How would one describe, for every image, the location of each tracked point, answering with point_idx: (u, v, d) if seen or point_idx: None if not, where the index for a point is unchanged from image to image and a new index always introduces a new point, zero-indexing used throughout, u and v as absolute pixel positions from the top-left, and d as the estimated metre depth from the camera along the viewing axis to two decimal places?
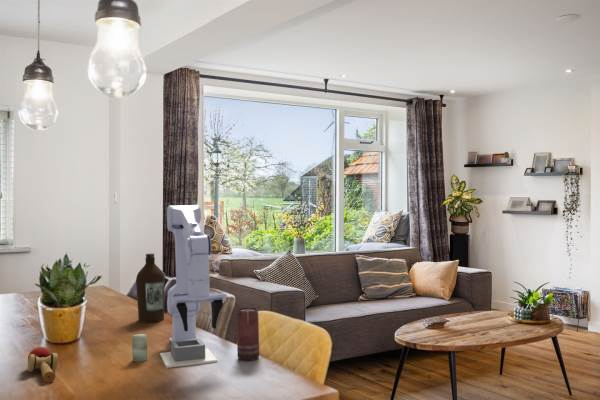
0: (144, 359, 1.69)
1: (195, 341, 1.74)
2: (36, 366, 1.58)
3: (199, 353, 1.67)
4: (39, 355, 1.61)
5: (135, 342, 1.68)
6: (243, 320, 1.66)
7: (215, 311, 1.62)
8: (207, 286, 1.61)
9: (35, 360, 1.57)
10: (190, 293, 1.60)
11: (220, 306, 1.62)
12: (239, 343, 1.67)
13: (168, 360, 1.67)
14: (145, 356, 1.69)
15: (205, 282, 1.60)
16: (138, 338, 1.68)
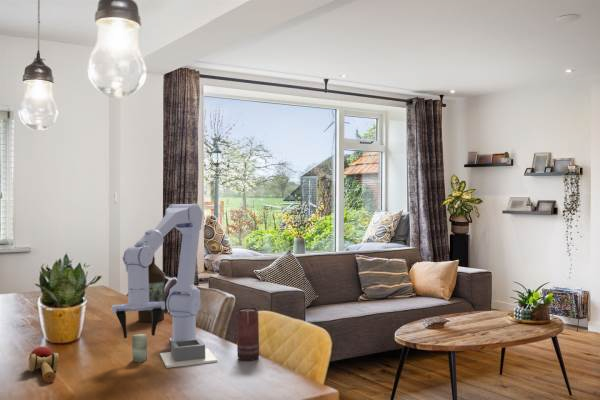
0: (144, 359, 1.69)
1: (195, 341, 1.74)
2: (37, 366, 1.58)
3: (199, 353, 1.67)
4: (40, 355, 1.61)
5: (135, 342, 1.68)
6: (243, 320, 1.66)
7: (154, 319, 1.69)
8: (146, 295, 1.68)
9: (36, 360, 1.57)
10: (129, 302, 1.68)
11: (158, 314, 1.69)
12: (239, 343, 1.67)
13: (168, 360, 1.67)
14: (145, 356, 1.69)
15: (143, 291, 1.68)
16: (138, 338, 1.68)
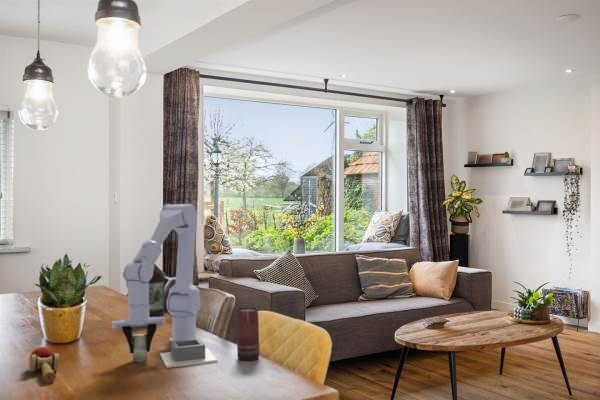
0: (144, 359, 1.69)
1: (195, 341, 1.74)
2: (37, 366, 1.57)
3: (199, 353, 1.67)
4: (41, 356, 1.61)
5: (135, 342, 1.68)
6: (243, 320, 1.66)
7: (148, 335, 1.69)
8: (146, 311, 1.68)
9: (36, 360, 1.57)
10: (129, 317, 1.68)
11: (153, 330, 1.68)
12: (239, 343, 1.67)
13: (168, 360, 1.67)
14: (145, 356, 1.69)
15: (144, 307, 1.68)
16: (138, 338, 1.68)
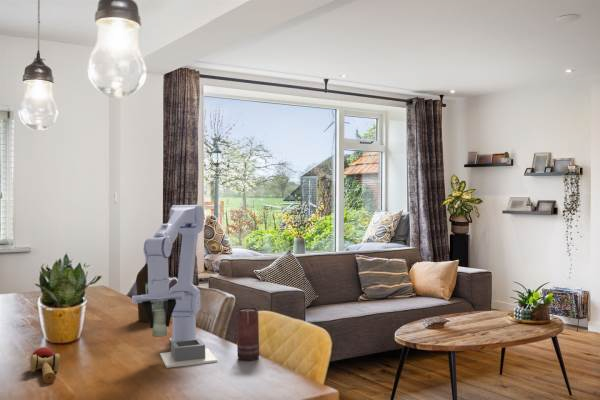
0: (164, 333, 1.69)
1: (195, 341, 1.74)
2: (38, 366, 1.57)
3: (199, 353, 1.67)
4: (42, 356, 1.61)
5: (155, 317, 1.68)
6: (243, 320, 1.66)
7: (168, 310, 1.69)
8: (166, 285, 1.68)
9: (37, 360, 1.57)
10: (149, 292, 1.68)
11: (173, 305, 1.69)
12: (239, 343, 1.67)
13: (168, 360, 1.67)
14: (165, 331, 1.69)
15: (164, 282, 1.68)
16: (158, 313, 1.68)
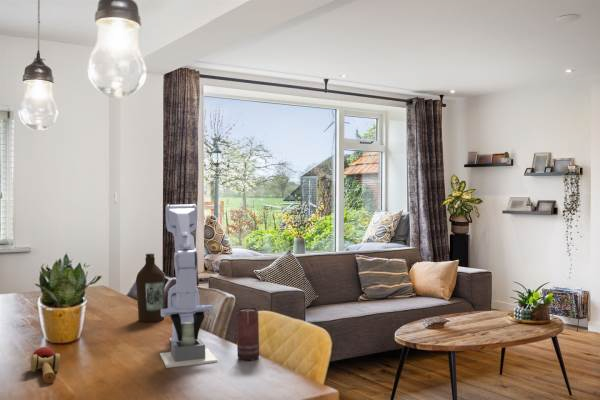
0: None
1: (195, 341, 1.74)
2: (38, 366, 1.57)
3: (199, 353, 1.67)
4: (42, 356, 1.61)
5: (184, 330, 1.68)
6: (243, 320, 1.66)
7: (197, 323, 1.69)
8: (194, 298, 1.69)
9: (37, 360, 1.57)
10: (178, 305, 1.68)
11: (201, 318, 1.69)
12: (239, 343, 1.67)
13: (168, 360, 1.67)
14: (193, 344, 1.70)
15: (192, 295, 1.68)
16: (187, 326, 1.68)
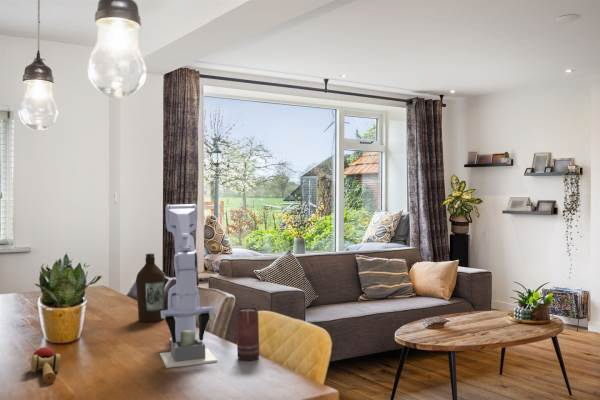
0: None
1: (195, 341, 1.74)
2: (39, 367, 1.57)
3: (199, 353, 1.67)
4: (43, 356, 1.60)
5: (184, 338, 1.68)
6: (243, 320, 1.66)
7: (202, 324, 1.70)
8: (194, 300, 1.69)
9: (38, 360, 1.57)
10: (178, 307, 1.68)
11: (207, 319, 1.70)
12: (239, 343, 1.67)
13: (168, 360, 1.67)
14: None
15: (192, 296, 1.68)
16: (187, 334, 1.68)
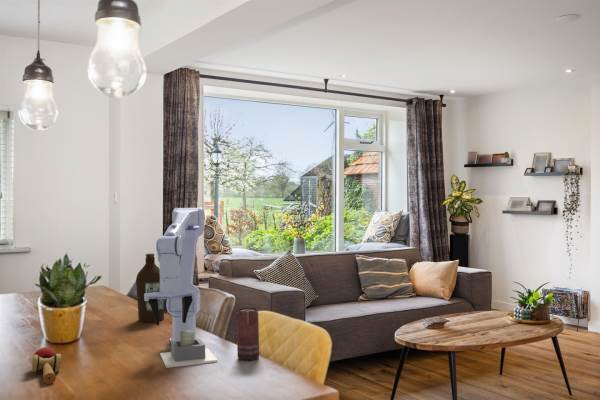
0: None
1: (195, 341, 1.74)
2: (39, 367, 1.57)
3: (199, 353, 1.67)
4: (43, 356, 1.60)
5: (184, 339, 1.68)
6: (243, 320, 1.66)
7: (185, 307, 1.73)
8: (177, 283, 1.72)
9: (38, 360, 1.57)
10: (161, 290, 1.72)
11: (189, 302, 1.73)
12: (239, 343, 1.67)
13: (168, 360, 1.67)
14: None
15: (175, 279, 1.72)
16: (186, 334, 1.68)
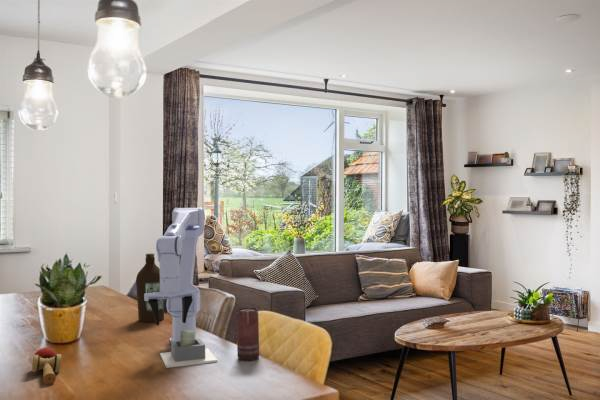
0: None
1: (195, 341, 1.74)
2: (39, 367, 1.57)
3: (199, 353, 1.67)
4: (44, 356, 1.60)
5: (184, 339, 1.68)
6: (243, 320, 1.66)
7: (185, 307, 1.73)
8: (177, 283, 1.72)
9: (38, 361, 1.56)
10: (161, 290, 1.72)
11: (189, 302, 1.73)
12: (239, 343, 1.67)
13: (168, 360, 1.67)
14: None
15: (175, 279, 1.72)
16: (186, 334, 1.68)
